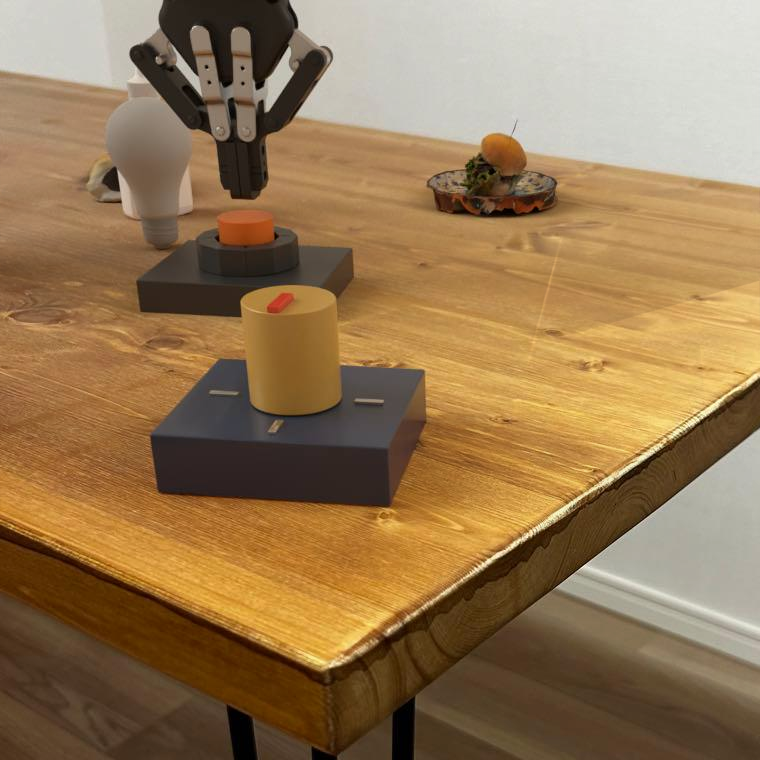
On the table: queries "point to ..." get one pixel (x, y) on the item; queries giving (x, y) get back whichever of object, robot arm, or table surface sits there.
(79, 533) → the table surface
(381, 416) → the dial panel
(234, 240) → the button
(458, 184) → the burger
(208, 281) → the button box
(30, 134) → the table surface
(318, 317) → the dial
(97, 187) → the pastry
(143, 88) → the plastic bottle
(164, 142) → the lightbulb
